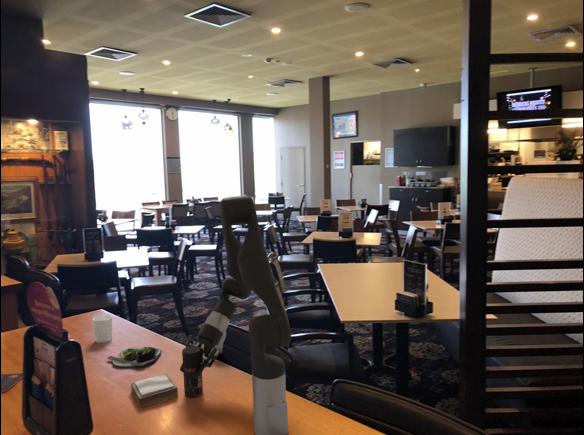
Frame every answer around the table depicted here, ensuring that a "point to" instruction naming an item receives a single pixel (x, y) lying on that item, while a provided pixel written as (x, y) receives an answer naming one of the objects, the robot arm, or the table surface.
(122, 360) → the salad plate
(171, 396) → the pedestal
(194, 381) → the deodorant
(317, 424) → the table surface
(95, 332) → the white cup
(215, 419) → the table surface
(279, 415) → the robot arm
